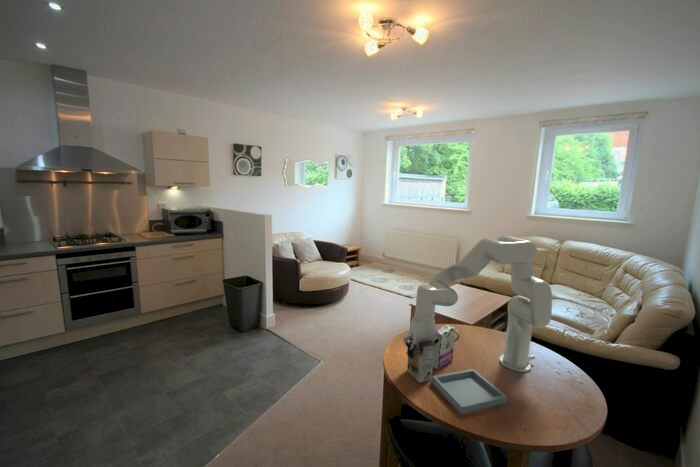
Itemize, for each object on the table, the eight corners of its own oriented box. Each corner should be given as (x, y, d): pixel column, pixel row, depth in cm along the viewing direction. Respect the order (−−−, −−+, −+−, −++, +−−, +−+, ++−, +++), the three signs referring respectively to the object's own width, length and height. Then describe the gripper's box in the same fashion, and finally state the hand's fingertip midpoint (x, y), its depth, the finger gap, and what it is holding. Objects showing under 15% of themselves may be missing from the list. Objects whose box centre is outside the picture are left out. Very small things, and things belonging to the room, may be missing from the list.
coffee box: (406, 370, 131) (409, 334, 129) (418, 367, 134) (422, 332, 131) (419, 383, 123) (422, 345, 121) (432, 380, 126) (436, 342, 123)
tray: (472, 375, 130) (473, 368, 130) (506, 404, 113) (507, 396, 113) (431, 383, 124) (432, 376, 123) (461, 415, 107) (462, 407, 106)
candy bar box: (442, 357, 143) (446, 323, 141) (452, 362, 140) (456, 327, 137) (428, 365, 136) (431, 330, 133) (438, 370, 132) (442, 334, 130)
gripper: (437, 310, 131) (433, 348, 133) (400, 313, 125) (397, 353, 128) (448, 318, 124) (443, 357, 126) (410, 321, 118) (406, 363, 121)
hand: (420, 355), depth 127 cm, fingers open, 9 cm apart
